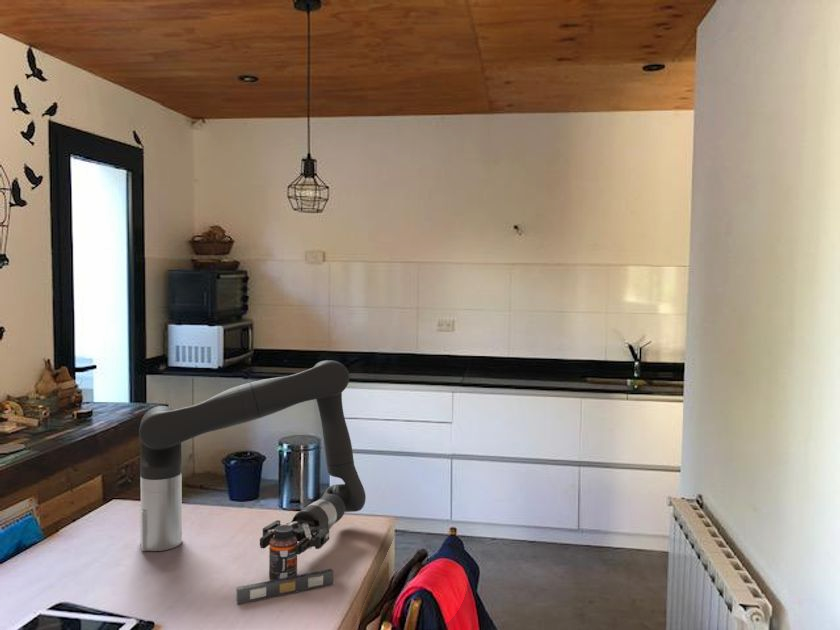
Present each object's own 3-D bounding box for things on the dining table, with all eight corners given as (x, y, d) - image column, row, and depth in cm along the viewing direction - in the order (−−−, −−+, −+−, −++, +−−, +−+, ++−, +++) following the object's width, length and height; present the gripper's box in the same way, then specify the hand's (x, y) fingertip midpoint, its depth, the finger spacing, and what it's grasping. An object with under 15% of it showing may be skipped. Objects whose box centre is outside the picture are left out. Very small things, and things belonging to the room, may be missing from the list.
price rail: (237, 605, 130) (237, 590, 130) (236, 601, 131) (236, 587, 131) (333, 585, 139) (334, 571, 139) (331, 582, 140) (331, 568, 140)
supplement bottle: (290, 587, 138) (291, 535, 137) (264, 584, 139) (264, 532, 138) (301, 574, 143) (301, 524, 143) (275, 571, 145) (276, 521, 144)
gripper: (288, 500, 156) (250, 525, 141) (342, 508, 151) (309, 534, 136) (288, 531, 156) (250, 559, 141) (342, 540, 152) (309, 569, 137)
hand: (279, 547), depth 139 cm, fingers open, 8 cm apart
